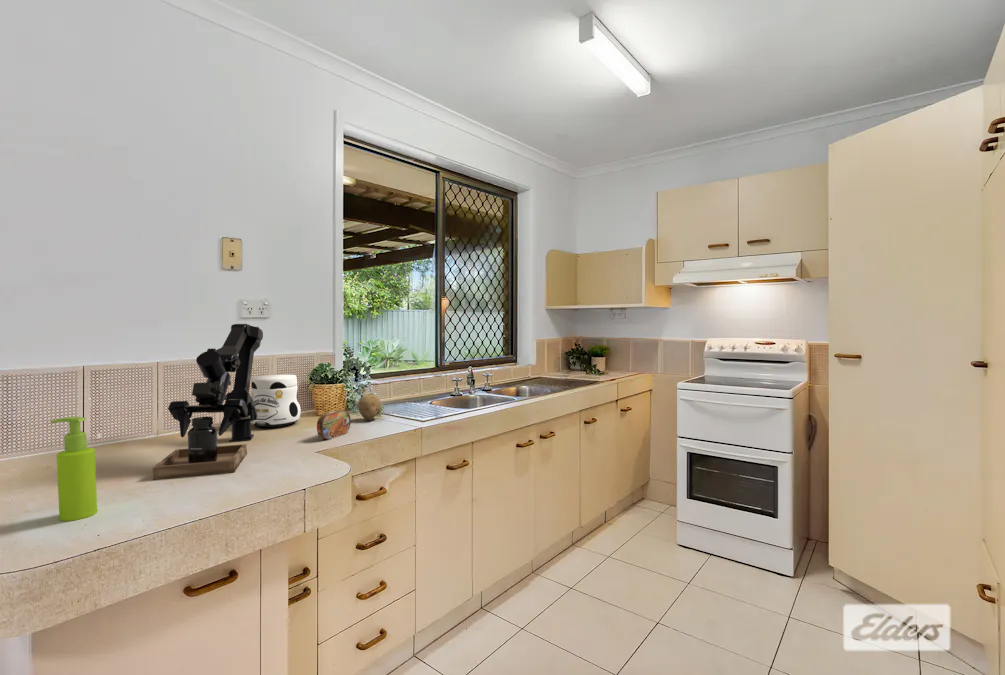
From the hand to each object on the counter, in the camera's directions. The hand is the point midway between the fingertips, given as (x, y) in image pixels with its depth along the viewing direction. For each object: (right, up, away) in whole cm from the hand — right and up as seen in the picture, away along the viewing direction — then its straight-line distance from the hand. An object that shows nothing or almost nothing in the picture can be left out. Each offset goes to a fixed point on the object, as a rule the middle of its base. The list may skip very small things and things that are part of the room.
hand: (200, 435), depth 133 cm
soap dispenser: (-6, -10, -32) cm, 34 cm away
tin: (+24, -7, +35) cm, 43 cm away
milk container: (-4, -7, +53) cm, 54 cm away
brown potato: (+29, -6, +60) cm, 67 cm away
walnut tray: (0, -9, +2) cm, 9 cm away
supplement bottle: (0, -8, +2) cm, 8 cm away
